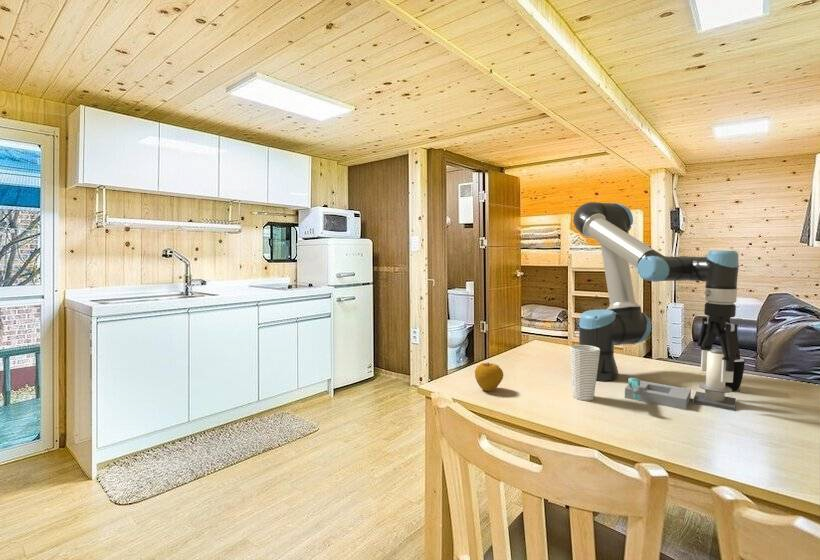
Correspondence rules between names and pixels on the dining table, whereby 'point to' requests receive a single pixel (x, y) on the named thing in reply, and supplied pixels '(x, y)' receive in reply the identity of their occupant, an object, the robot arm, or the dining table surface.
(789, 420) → the dining table surface
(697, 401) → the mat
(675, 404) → the socket block
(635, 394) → the clip
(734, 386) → the mug
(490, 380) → the apple
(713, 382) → the plug
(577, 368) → the cup
